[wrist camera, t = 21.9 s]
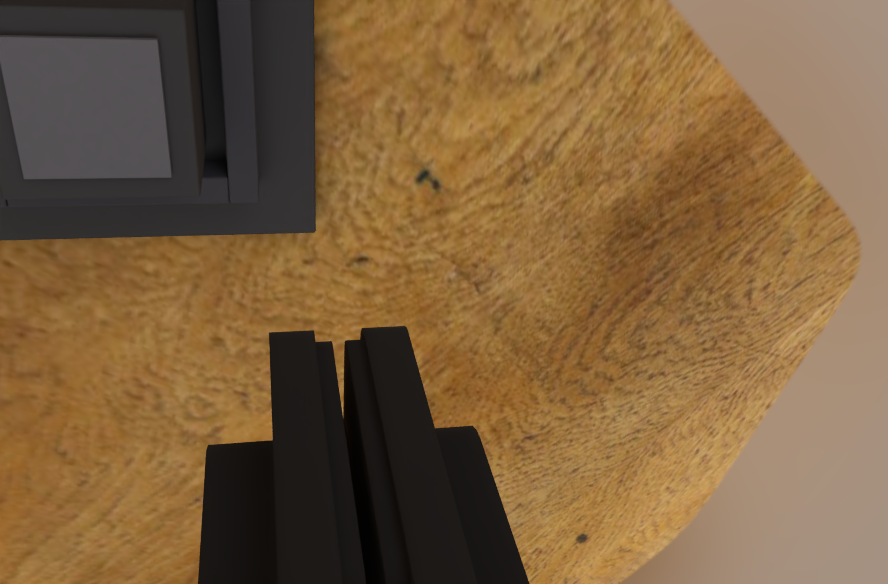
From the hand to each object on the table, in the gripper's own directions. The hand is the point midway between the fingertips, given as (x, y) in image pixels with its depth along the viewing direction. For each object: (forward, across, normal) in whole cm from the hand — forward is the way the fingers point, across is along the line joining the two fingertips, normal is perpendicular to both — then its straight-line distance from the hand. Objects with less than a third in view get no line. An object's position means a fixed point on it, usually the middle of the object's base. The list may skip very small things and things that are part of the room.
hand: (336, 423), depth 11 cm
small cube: (+20, +5, +2) cm, 21 cm away
